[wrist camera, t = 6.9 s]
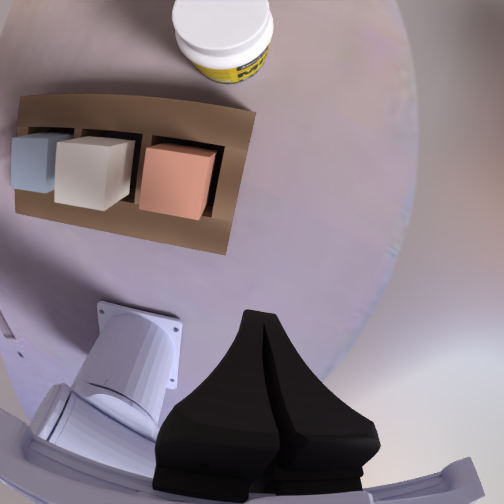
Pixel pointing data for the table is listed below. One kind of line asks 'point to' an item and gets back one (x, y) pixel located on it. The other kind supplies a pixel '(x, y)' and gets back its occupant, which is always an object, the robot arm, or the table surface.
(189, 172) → the red key
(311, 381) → the robot arm
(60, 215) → the key block
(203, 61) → the supplement bottle
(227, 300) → the table surface
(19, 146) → the blue key
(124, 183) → the white key
